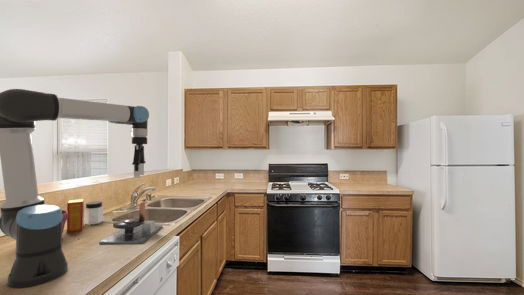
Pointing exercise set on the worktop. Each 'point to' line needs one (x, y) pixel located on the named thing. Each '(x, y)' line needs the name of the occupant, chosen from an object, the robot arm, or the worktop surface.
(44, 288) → the worktop surface
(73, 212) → the baking soda box
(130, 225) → the handwheel
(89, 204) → the jar
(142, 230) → the dark grey flat piece
